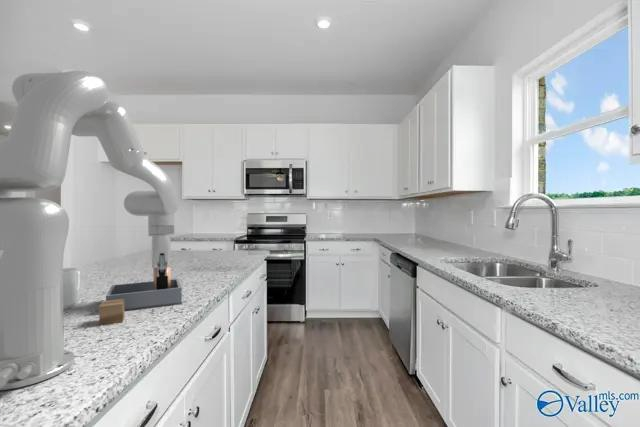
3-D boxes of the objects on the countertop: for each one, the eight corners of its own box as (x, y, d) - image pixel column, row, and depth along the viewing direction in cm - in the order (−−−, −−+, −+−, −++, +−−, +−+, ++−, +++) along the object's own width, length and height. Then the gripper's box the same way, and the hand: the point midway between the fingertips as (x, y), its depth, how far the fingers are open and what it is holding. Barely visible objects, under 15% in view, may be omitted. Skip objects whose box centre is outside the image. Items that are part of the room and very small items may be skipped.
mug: (62, 311, 90) (61, 273, 90) (31, 312, 90) (30, 273, 90) (92, 299, 102) (91, 265, 102) (64, 300, 102) (64, 266, 102)
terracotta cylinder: (153, 292, 98) (153, 269, 98) (153, 288, 103) (153, 267, 103) (171, 290, 101) (170, 268, 100) (170, 286, 105) (170, 265, 105)
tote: (178, 292, 111) (178, 278, 111) (181, 303, 98) (181, 287, 98) (112, 300, 101) (112, 285, 101) (106, 313, 89) (105, 296, 88)
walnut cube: (122, 322, 82) (122, 303, 82) (99, 326, 79) (99, 306, 79) (124, 317, 86) (124, 298, 86) (102, 320, 84) (102, 301, 84)
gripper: (148, 229, 107) (149, 282, 107) (147, 233, 92) (148, 294, 92) (173, 229, 111) (173, 280, 111) (175, 232, 96) (176, 291, 96)
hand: (162, 286), depth 102 cm, fingers closed on terracotta cylinder, 5 cm apart
